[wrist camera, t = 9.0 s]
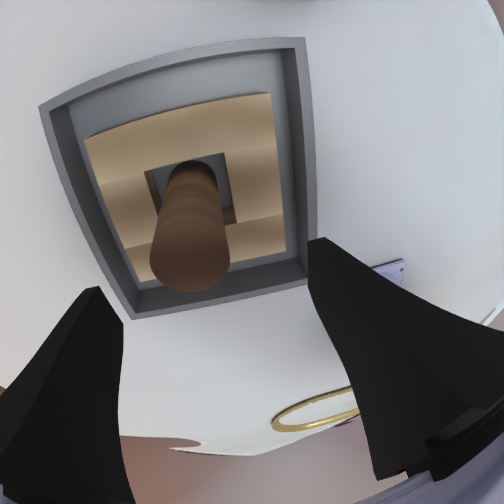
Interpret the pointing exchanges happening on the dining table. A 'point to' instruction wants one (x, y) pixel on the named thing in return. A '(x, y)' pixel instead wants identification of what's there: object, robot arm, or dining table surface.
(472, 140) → the dining table surface
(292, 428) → the gold wire ring
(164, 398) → the dining table surface
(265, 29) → the dining table surface
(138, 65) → the charcoal tray
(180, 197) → the walnut peg
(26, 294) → the dining table surface
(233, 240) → the oak hole plate
